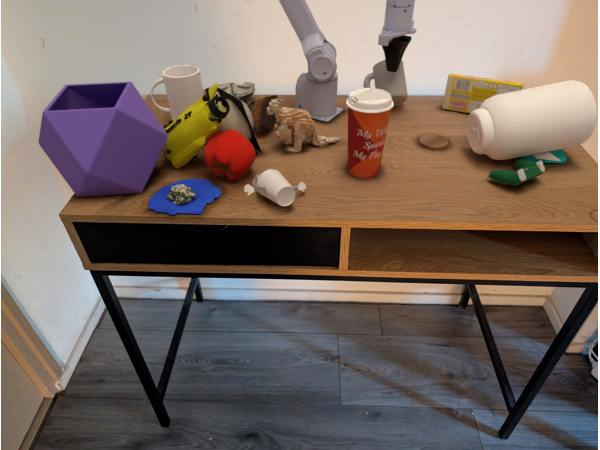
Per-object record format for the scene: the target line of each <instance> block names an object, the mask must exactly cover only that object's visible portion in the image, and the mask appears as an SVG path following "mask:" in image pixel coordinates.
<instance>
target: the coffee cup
mask: <svg viewBox="0 0 600 450" xmlns="http://www.w3.org/2000/svg"><path fill="white" fill-rule="evenodd" d="M345 104H346V106H347V171H348V172H349V173H350V175H352V176H354V177H357V178H359V179H360V178H361V179H371V178H373V177H375V176H377V175H378V174H379V172H380V169H381V168H380V167H381V162H382V158H383V153H384V149H385V148H384V147H385V142H386V137H387V132H388V127H389V122H390V121H389V120H390V116H391V110H392V109H393V107H394V106H395V105H394V104H393V101H392V97H391V95H390V94H389V93H388V92H387V91H384V90H381V89H377V88H375V87H370V88H364V87H361V88H356V89H354V90H352V91H350V93H349V95H348V98H347V99H346V101H345ZM393 105H394V106H393Z"/></svg>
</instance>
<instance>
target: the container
mask: <svg viewBox="0 0 600 450" xmlns="http://www.w3.org/2000/svg"><path fill="white" fill-rule="evenodd" d="M41 114H42V115H41V120H40V121H41V122H40V127H39V128H40V129H39V136H38V144H39V146H40V148H41V149H42V151H43V152H44V153H45V155H46V156H47V158H48V159H49V160H50V162H51V163H52V164H53V166H54V167H55V169H56V170H57V171H58V173H59V174H60V175H61V176H62V178H63V180H65V182H66V183H67V185H68V186H69V188H70V189H71V190H72V192H73V194H74V195H75V196H76V197H77V198H85V197H102V196H116V195H117V196H118V195H129V194H142V193H143V191H144V190H145V188H146V185H147V183H148V181H149V179H150V177H151V175H152V173H153V171H154V169H155V167H156V165H157V163H158V160H159V159H160V156H161V154H162V153H163V152H162V150H163V148H164V146H165V144H166V142H167V139H168V134H167V133H166V131H165V130H164V128H163V127H164V126H163V125H162V124H161V122H160V121H159V120H158V118H157V116H156V115H155V114H154V113H153V111H152V109H151V108H150V106H149V105H148V104H147V101H146V100H145V99H144V98H143V96H142V95H141V94H140V92H139V90H138V89H137V88H136V87H135V85H134V83H133V81H116V82H114V81H113V82H93V83H92V82H91V83H73V84H70V83H69V84H64V86H63V87H62V88H61V89H60V90H59V91H58V93H57V94H56V95H55V96H54V98H53V99H52V100H51V101H50V102H49V103H48V105H47V106H46V107H45V108H44V109H43V111H42V113H41Z"/></svg>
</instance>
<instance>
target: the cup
mask: <svg viewBox="0 0 600 450" xmlns="http://www.w3.org/2000/svg"><path fill="white" fill-rule="evenodd" d="M405 73H406V72H405V66H404V61H403V59H402V60H401V62H400V65H399V68H398V70H397V71H396V72H390V71H387V69H386V60H385V59H383V60H381V61H378V62H377V63H375V64H374V65H373V66H372V72H370V73H368V74H366V76H365V77H364V80H363V87H362V88H371V82H372V80H374V88H377V89H381V90H384V91H387V92H388V93H389V94H390V95H391V97H392V101H393V104H394V105H393V107H394V106H397V105H401V104H403V103H405V102H406V101H407V100H408V97H409V95H408V87H407V81H406V74H405Z"/></svg>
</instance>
